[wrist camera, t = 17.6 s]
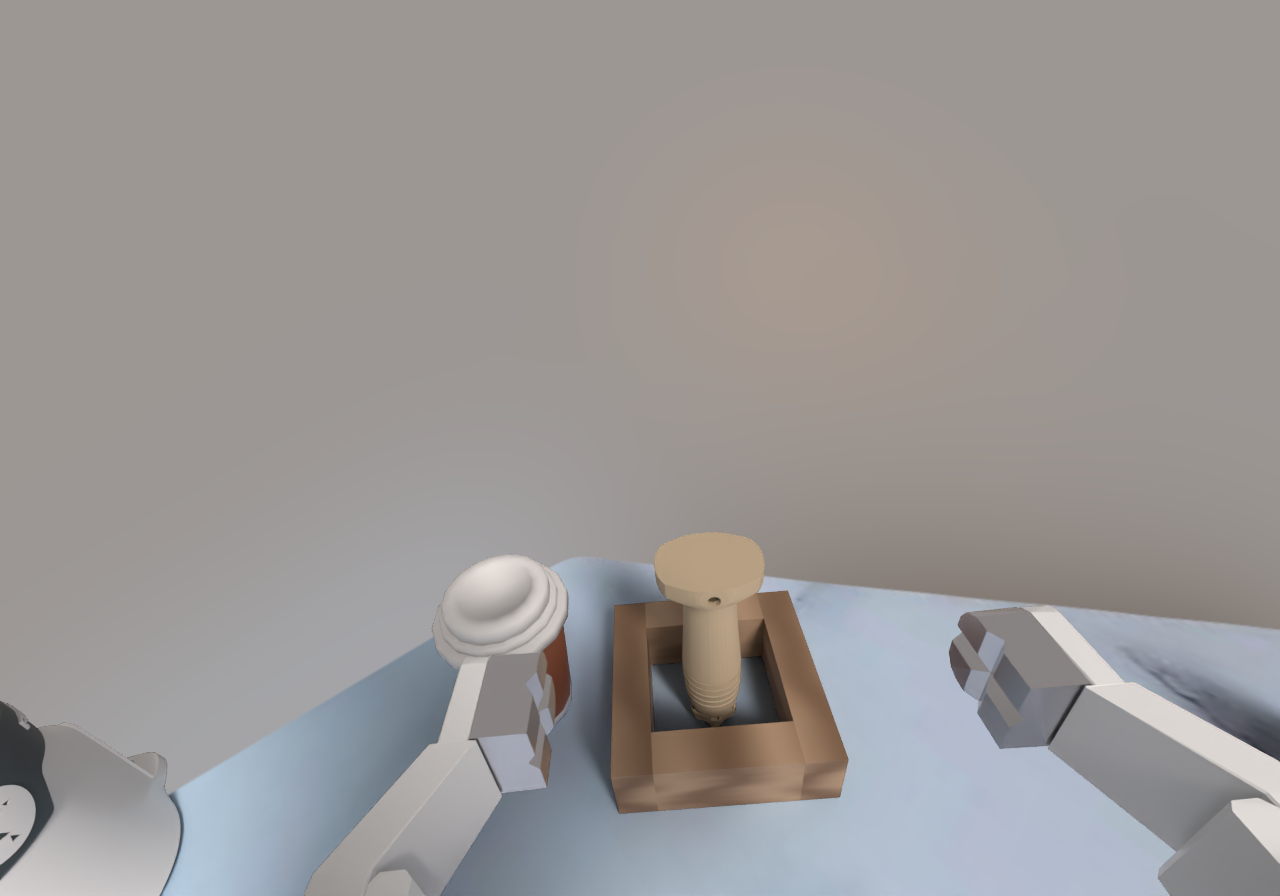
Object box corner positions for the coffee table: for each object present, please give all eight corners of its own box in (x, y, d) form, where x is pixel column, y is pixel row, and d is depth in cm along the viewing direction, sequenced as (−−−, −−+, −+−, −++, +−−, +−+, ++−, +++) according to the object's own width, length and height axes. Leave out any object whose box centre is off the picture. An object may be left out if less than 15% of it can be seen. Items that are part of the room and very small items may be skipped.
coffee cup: (598, 649, 43) (575, 542, 37) (576, 761, 35) (543, 651, 29) (495, 646, 44) (457, 542, 38) (453, 754, 37) (396, 647, 30)
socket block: (619, 813, 32) (610, 777, 30) (620, 641, 44) (614, 605, 41) (839, 797, 32) (848, 759, 30) (784, 627, 43) (787, 590, 41)
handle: (667, 681, 40) (652, 536, 32) (749, 675, 40) (754, 528, 32) (671, 744, 36) (655, 595, 28) (763, 738, 36) (772, 587, 28)
